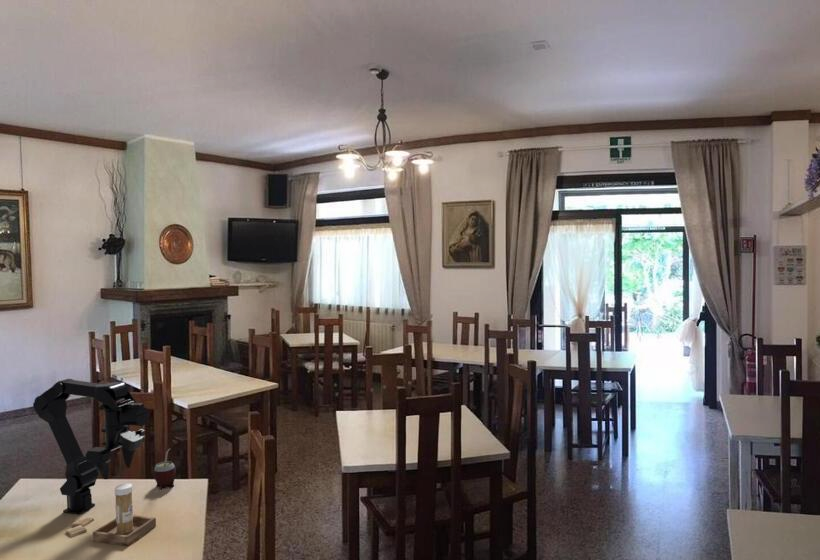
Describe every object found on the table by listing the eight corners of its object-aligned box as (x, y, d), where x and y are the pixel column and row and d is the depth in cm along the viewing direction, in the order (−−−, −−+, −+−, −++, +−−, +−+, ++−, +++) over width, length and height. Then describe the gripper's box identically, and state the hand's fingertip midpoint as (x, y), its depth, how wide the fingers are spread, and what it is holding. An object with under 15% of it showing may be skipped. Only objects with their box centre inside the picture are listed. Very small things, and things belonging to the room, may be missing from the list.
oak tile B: (66, 534, 164) (66, 530, 164) (80, 528, 167) (80, 525, 167) (71, 538, 161) (71, 534, 161) (86, 533, 164) (86, 529, 164)
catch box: (93, 541, 159) (92, 532, 158) (123, 521, 170) (122, 513, 170) (127, 545, 156) (127, 537, 156) (156, 525, 167) (155, 517, 167)
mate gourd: (160, 481, 199) (159, 440, 199) (182, 482, 199) (180, 441, 198) (149, 490, 192) (147, 448, 191) (171, 491, 191) (170, 448, 190)
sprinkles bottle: (131, 534, 161) (129, 488, 161) (114, 535, 160) (112, 490, 160) (135, 526, 166) (133, 482, 165) (118, 528, 165) (117, 483, 164)
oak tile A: (72, 527, 168) (72, 523, 168) (82, 521, 172) (82, 517, 172) (84, 528, 167) (83, 524, 167) (93, 522, 171) (93, 518, 171)
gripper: (114, 435, 163) (116, 487, 163) (157, 416, 181) (159, 463, 182) (82, 432, 165) (85, 484, 166) (128, 414, 183) (130, 461, 184)
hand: (117, 473), depth 174 cm, fingers open, 9 cm apart
